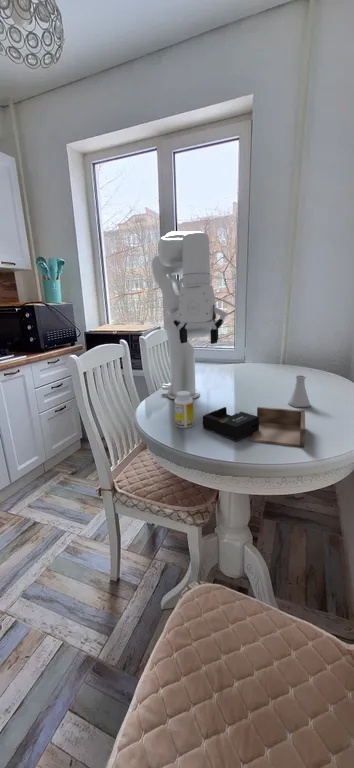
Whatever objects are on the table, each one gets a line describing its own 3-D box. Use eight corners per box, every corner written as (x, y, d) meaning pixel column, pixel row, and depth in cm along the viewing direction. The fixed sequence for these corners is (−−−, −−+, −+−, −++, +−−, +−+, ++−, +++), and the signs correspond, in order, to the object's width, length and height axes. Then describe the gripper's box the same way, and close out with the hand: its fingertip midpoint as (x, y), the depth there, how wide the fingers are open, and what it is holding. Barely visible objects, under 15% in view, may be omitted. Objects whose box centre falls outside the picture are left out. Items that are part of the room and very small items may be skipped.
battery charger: (259, 429, 89) (259, 416, 88) (236, 441, 83) (236, 427, 82) (225, 418, 99) (224, 406, 98) (202, 428, 93) (201, 415, 92)
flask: (306, 400, 112) (308, 373, 109) (313, 408, 105) (315, 378, 102) (285, 401, 113) (287, 373, 110) (290, 408, 106) (292, 379, 103)
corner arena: (250, 441, 84) (251, 423, 82) (257, 422, 96) (257, 406, 94) (303, 447, 79) (305, 429, 78) (303, 427, 91) (304, 410, 90)
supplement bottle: (193, 421, 99) (192, 389, 96) (194, 428, 93) (193, 395, 90) (175, 421, 99) (174, 390, 96) (175, 429, 93) (173, 396, 91)
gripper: (163, 283, 90) (166, 344, 94) (220, 278, 81) (221, 345, 85) (176, 284, 96) (179, 341, 100) (231, 279, 87) (231, 341, 92)
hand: (198, 343), depth 93 cm, fingers open, 9 cm apart
